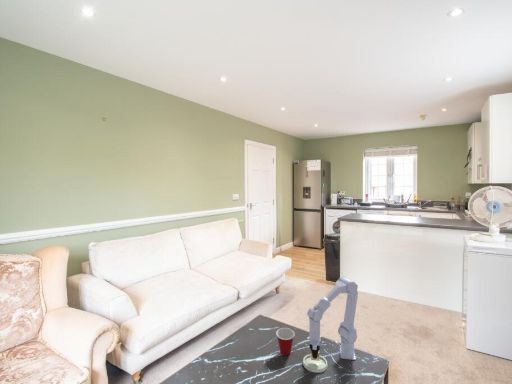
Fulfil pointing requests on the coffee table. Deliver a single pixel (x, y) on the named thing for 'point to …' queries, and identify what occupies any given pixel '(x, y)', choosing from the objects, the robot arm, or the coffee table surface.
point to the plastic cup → (285, 340)
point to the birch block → (317, 357)
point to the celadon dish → (315, 364)
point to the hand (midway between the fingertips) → (314, 355)
